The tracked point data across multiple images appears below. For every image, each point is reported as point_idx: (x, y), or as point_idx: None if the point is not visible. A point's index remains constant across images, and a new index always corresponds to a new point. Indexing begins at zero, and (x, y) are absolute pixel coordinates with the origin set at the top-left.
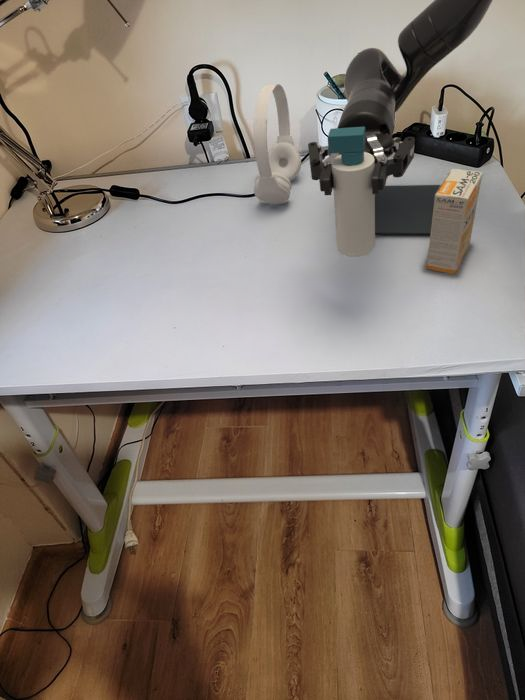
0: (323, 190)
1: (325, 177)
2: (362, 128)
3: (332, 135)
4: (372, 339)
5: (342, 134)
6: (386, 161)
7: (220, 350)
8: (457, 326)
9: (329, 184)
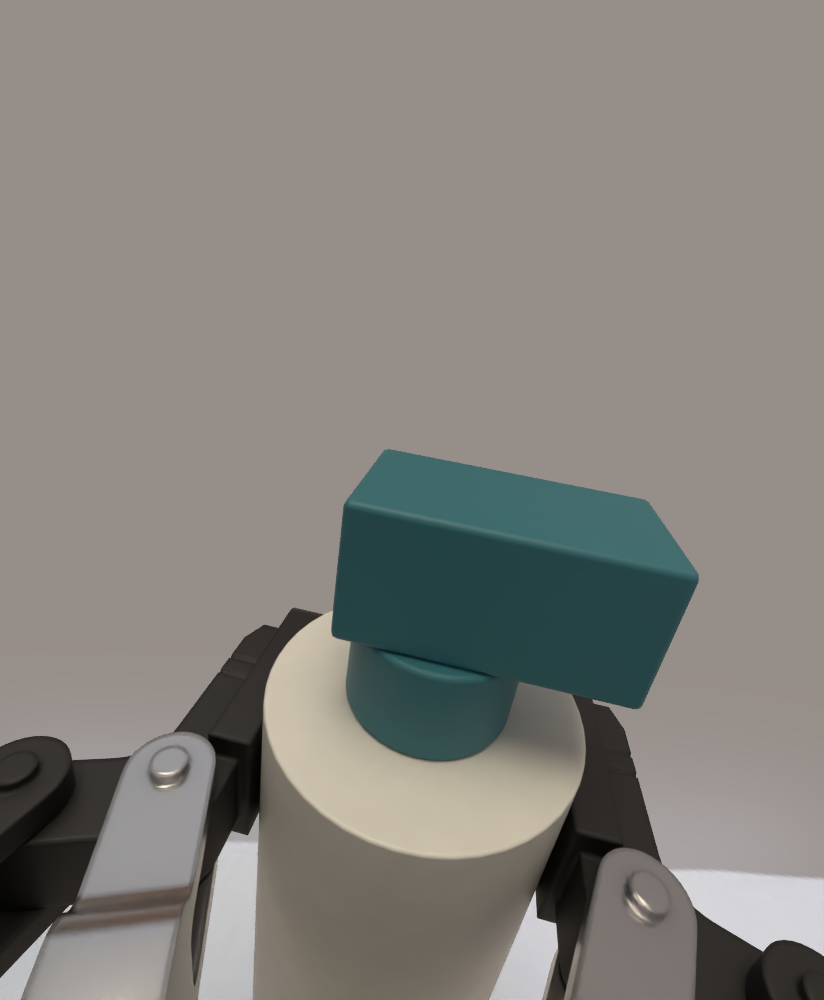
0: None
1: None
2: (375, 485)
3: (614, 496)
4: None
5: (537, 485)
6: (157, 740)
7: None
8: (18, 996)
9: None
